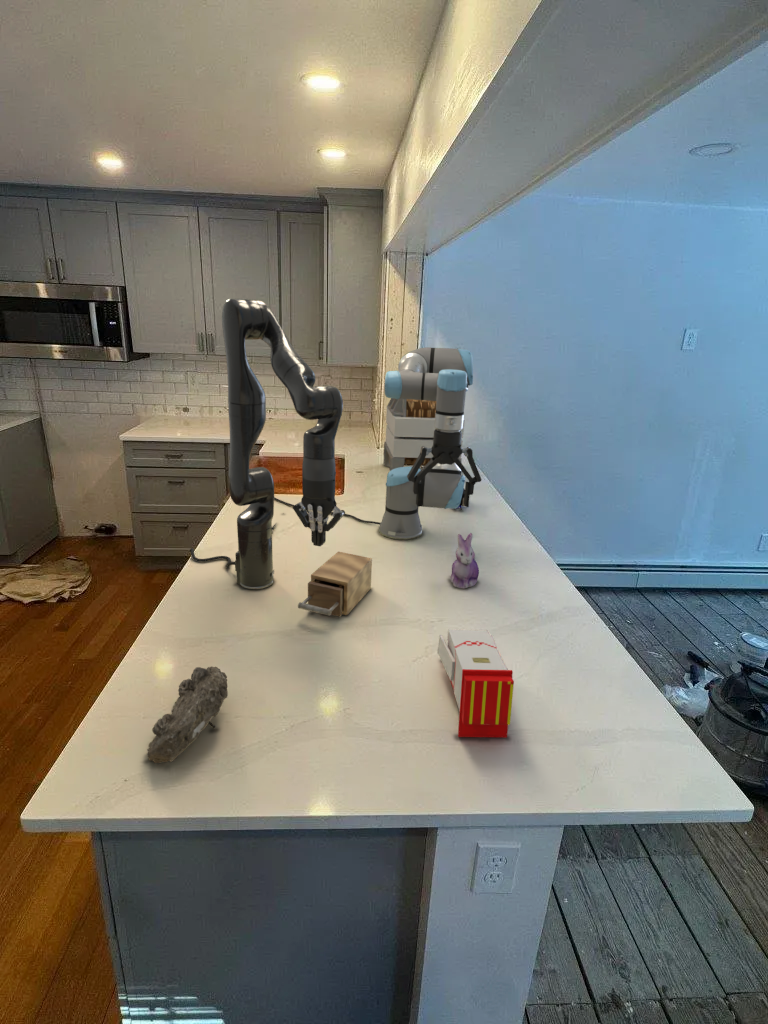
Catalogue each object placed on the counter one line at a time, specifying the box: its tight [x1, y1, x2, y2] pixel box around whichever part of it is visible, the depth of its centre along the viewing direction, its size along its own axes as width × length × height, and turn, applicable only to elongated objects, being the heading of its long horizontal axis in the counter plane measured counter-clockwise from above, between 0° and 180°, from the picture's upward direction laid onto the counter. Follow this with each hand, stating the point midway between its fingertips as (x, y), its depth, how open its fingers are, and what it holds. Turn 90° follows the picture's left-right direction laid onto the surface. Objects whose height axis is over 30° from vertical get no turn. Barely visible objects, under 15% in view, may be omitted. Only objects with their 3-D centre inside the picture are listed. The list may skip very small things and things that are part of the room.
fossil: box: [146, 666, 229, 764], centre depth 104 cm, size 22×10×15 cm
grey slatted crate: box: [383, 398, 465, 472], centre depth 268 cm, size 34×33×41 cm
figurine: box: [450, 532, 480, 589], centre depth 164 cm, size 9×10×15 cm
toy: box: [437, 628, 515, 738], centre depth 117 cm, size 12×13×30 cm
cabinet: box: [310, 551, 373, 616], centre depth 153 cm, size 16×10×10 cm, turn 159°
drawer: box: [297, 580, 344, 617], centre depth 147 cm, size 21×9×7 cm, turn 159°
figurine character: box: [453, 488, 465, 511], centre depth 230 cm, size 7×8×15 cm
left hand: (318, 544), depth 135 cm, fingers closed
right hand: (442, 505), depth 158 cm, fingers open, 13 cm apart
